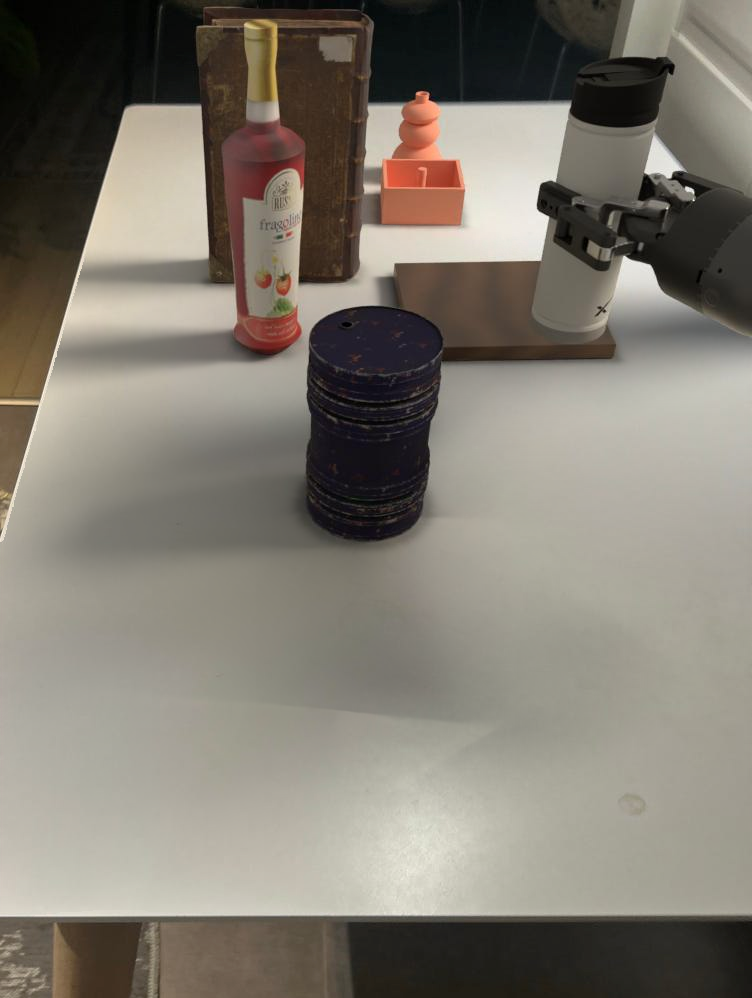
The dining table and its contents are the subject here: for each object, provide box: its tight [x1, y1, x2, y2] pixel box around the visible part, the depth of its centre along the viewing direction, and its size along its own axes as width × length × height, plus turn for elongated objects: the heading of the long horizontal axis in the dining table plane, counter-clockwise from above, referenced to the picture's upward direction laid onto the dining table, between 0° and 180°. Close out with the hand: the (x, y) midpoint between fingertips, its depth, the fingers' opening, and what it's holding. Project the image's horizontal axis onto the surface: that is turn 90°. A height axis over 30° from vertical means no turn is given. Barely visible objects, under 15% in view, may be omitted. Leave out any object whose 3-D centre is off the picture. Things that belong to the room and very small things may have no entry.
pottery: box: [379, 91, 466, 226], centre depth 118 cm, size 18×10×10 cm, turn 177°
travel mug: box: [530, 56, 676, 344], centre depth 74 cm, size 6×7×20 cm
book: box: [195, 6, 375, 283], centre depth 98 cm, size 17×7×25 cm, turn 82°
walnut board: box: [393, 260, 617, 362], centre depth 99 cm, size 20×18×2 cm
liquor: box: [221, 20, 305, 355], centre depth 86 cm, size 7×7×28 cm
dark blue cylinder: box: [304, 305, 444, 543], centre depth 73 cm, size 10×10×15 cm
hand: (575, 184), depth 74 cm, fingers closed on travel mug, 6 cm apart
